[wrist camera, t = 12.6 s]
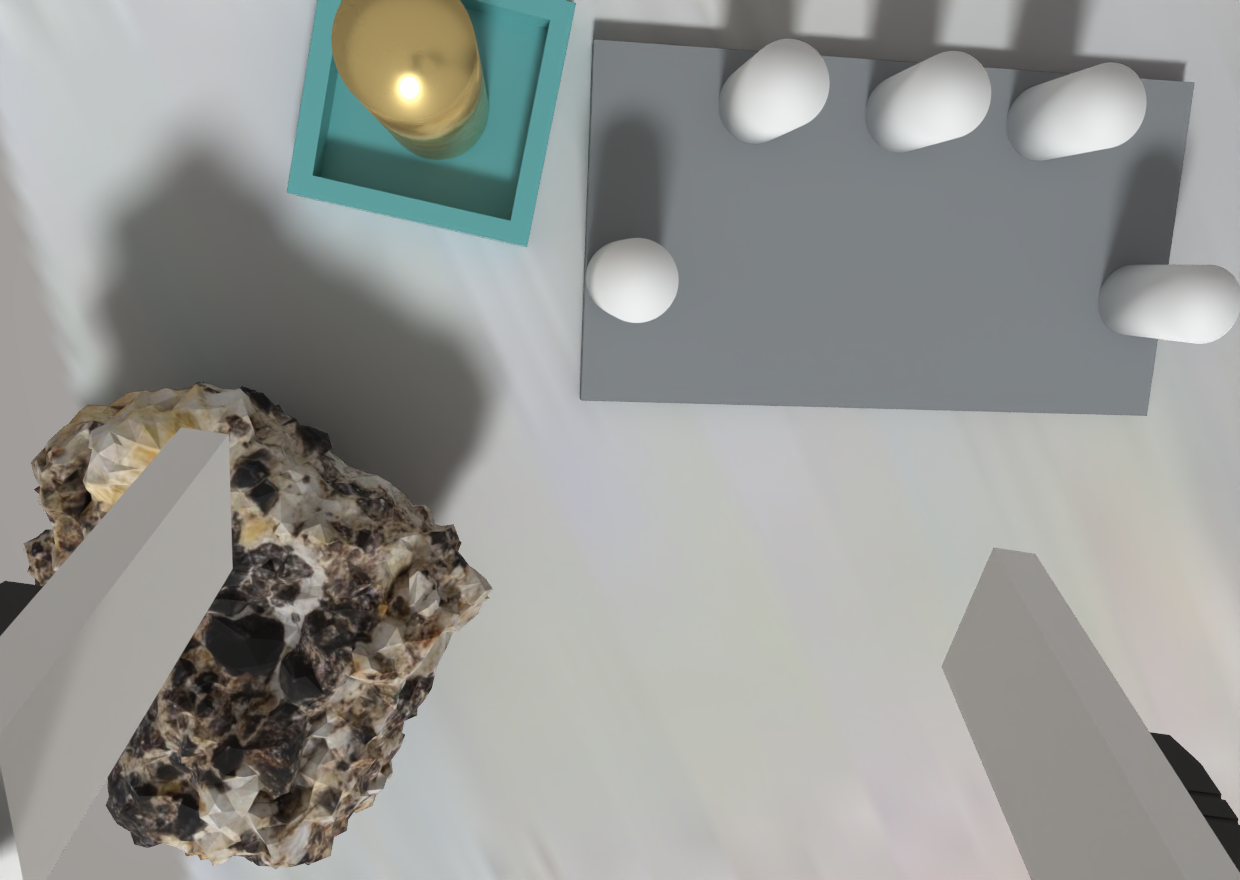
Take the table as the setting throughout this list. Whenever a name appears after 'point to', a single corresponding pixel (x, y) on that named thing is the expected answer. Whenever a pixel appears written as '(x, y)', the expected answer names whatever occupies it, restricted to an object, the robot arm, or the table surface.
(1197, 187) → the table surface
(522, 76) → the tray
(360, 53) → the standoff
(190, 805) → the mineral specimen
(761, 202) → the board
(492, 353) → the table surface
